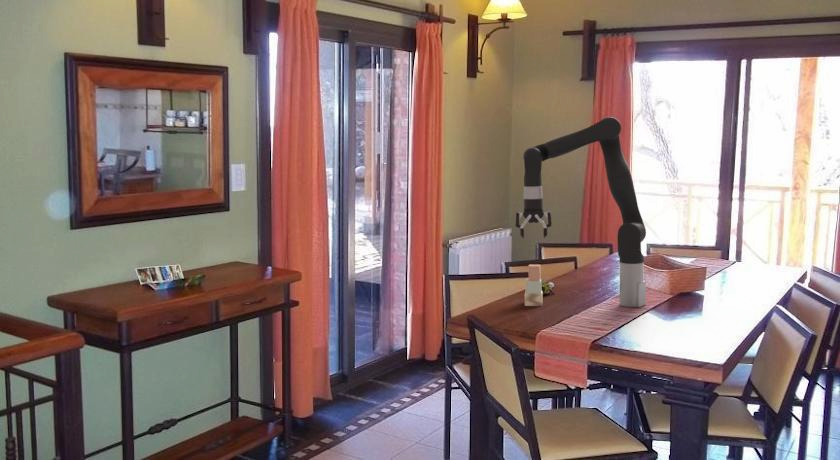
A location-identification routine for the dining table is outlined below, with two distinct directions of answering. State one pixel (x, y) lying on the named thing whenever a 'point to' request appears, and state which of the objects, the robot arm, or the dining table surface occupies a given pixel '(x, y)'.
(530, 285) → the tower top
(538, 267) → the clay block
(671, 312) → the dining table surface
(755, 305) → the dining table surface
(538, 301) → the tower base
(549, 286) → the toy
